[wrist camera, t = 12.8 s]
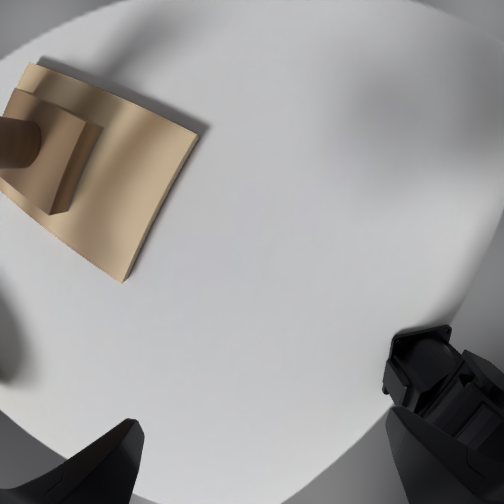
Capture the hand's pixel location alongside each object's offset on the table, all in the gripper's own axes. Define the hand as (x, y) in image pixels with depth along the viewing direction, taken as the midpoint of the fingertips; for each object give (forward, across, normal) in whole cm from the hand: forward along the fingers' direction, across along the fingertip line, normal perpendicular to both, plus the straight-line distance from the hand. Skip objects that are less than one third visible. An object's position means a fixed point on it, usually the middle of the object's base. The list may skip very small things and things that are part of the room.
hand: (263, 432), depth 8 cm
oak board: (+13, +15, -12) cm, 23 cm away
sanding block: (+12, +16, -13) cm, 24 cm away
